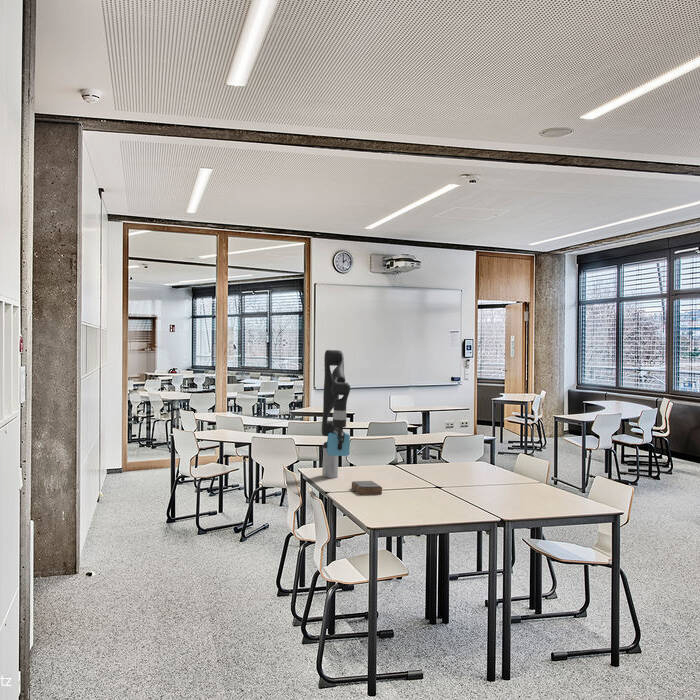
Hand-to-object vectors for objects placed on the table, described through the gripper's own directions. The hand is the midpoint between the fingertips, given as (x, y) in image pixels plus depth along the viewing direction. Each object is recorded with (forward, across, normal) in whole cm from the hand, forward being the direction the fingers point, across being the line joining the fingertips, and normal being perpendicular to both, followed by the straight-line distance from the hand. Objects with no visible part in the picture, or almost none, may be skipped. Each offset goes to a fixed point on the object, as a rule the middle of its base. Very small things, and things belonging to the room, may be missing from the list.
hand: (338, 448), depth 353 cm
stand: (+21, +13, +13) cm, 28 cm away
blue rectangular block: (+4, 0, 0) cm, 4 cm away
